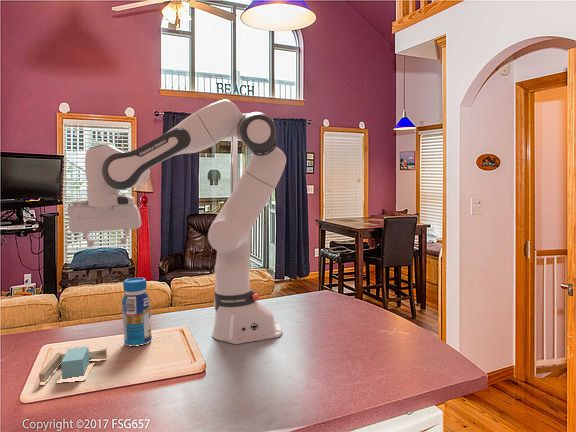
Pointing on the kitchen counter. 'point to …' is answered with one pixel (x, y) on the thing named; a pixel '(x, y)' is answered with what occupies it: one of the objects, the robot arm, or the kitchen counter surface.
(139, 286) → the beverage bottle
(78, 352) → the teal block
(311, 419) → the kitchen counter surface
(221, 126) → the robot arm
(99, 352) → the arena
